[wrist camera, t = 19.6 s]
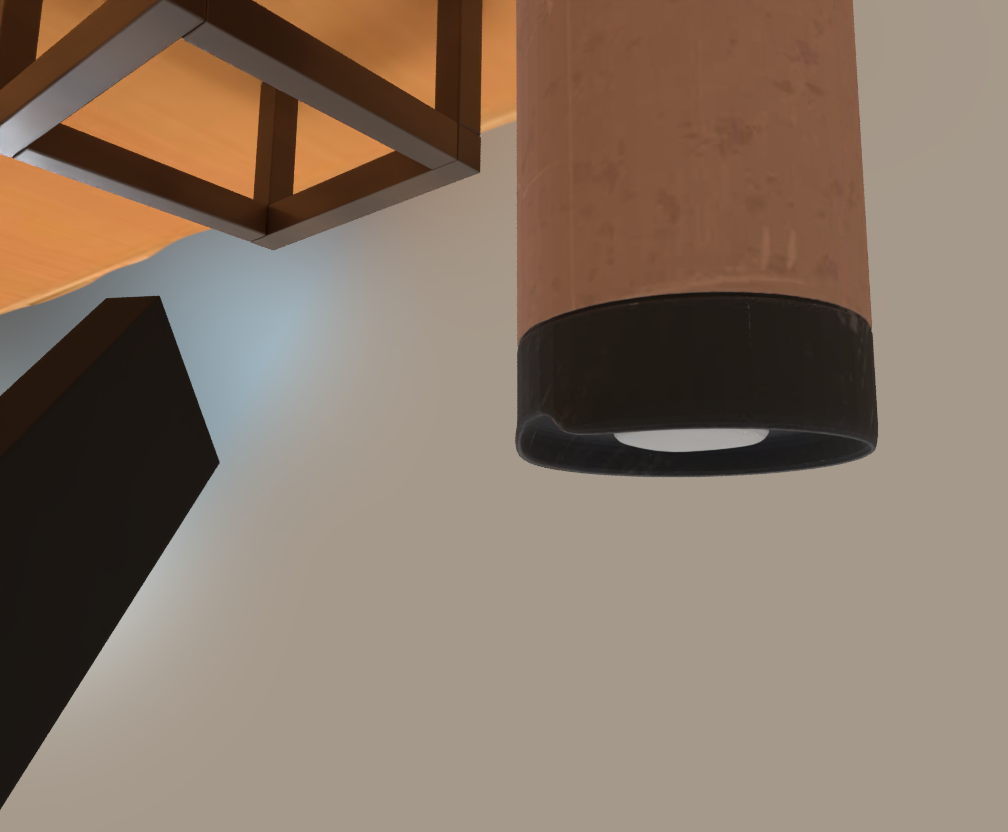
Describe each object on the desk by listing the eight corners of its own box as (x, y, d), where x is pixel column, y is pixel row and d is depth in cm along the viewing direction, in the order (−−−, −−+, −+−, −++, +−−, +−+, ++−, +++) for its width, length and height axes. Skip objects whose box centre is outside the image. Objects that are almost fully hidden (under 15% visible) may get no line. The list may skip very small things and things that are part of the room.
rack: (282, 96, 43) (273, 250, 41) (-2, -51, 33) (-28, 145, 31) (483, -15, 35) (480, 172, 33) (185, -254, 25) (163, -3, 23)
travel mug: (839, -247, 24) (891, 470, 20) (579, -152, 27) (584, 483, 24) (806, -572, 17) (875, 414, 14) (466, -395, 21) (448, 441, 17)
